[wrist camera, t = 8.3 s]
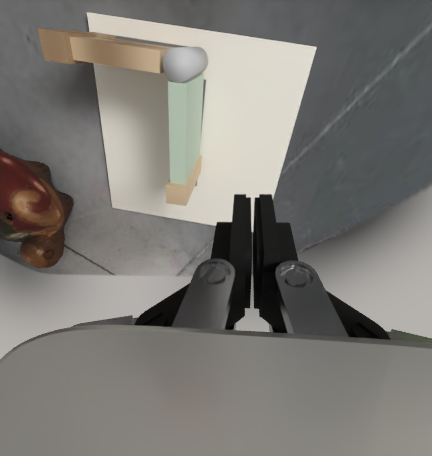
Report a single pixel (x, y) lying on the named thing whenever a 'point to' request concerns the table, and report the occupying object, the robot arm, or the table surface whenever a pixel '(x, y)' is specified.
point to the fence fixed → (100, 50)
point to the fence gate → (184, 119)
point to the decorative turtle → (32, 210)
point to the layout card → (211, 119)
